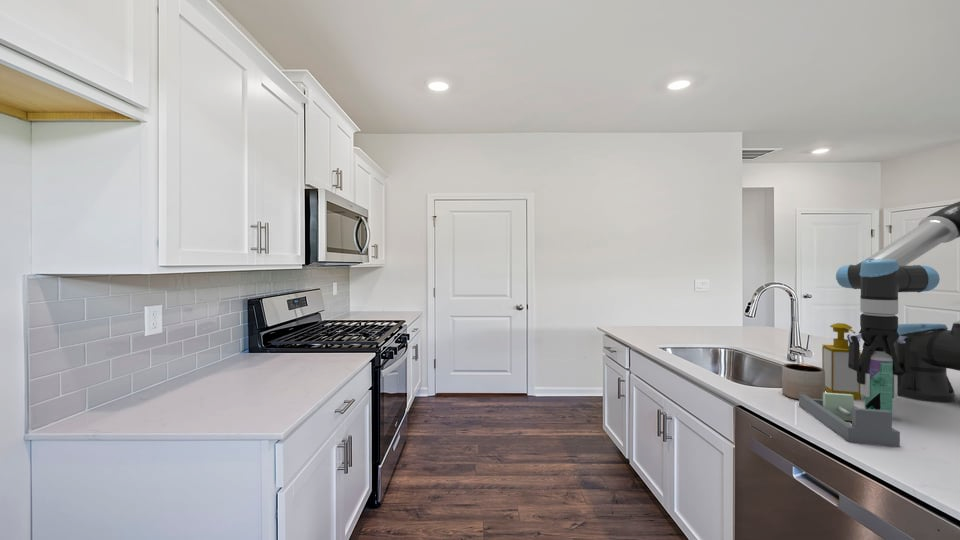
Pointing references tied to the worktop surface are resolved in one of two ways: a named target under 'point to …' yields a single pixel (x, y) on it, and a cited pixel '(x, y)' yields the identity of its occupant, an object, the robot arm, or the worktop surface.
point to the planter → (803, 381)
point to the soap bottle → (839, 365)
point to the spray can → (880, 381)
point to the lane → (856, 423)
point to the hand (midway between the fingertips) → (878, 396)
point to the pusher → (839, 404)
